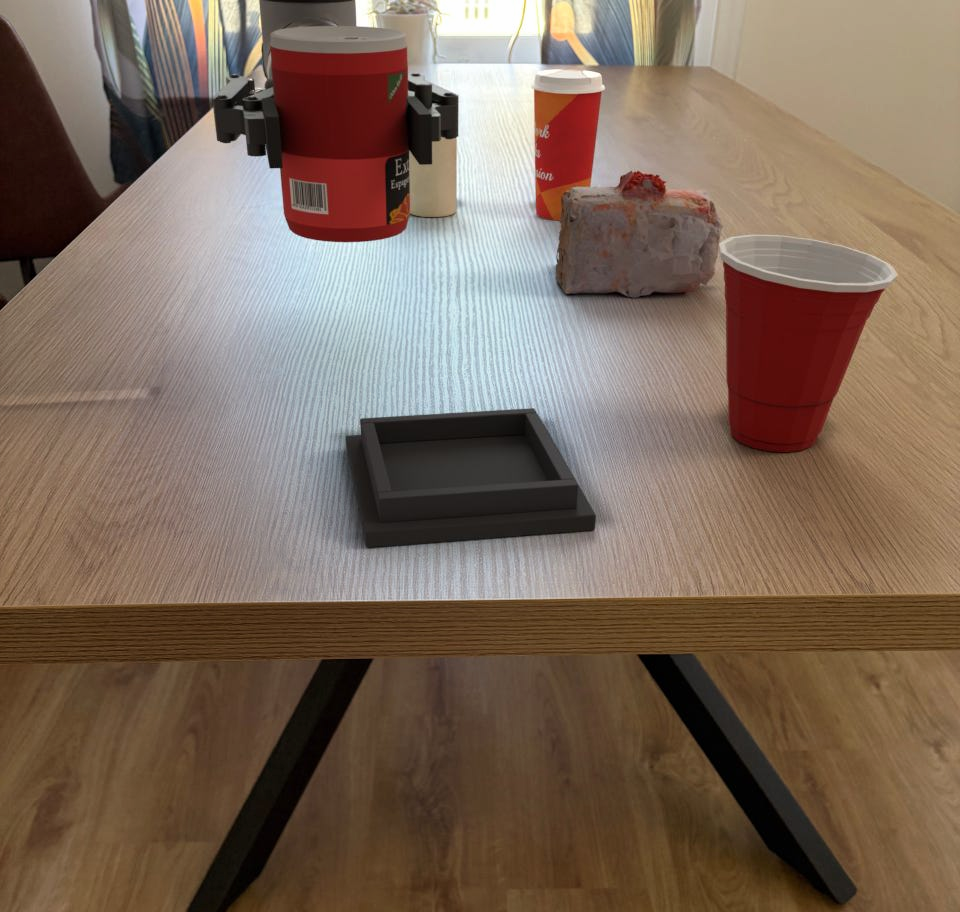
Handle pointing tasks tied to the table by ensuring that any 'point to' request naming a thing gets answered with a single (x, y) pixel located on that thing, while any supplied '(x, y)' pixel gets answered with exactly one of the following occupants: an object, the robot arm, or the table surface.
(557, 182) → the paper cup
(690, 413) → the table surface
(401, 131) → the canned food
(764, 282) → the plastic cup
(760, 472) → the table surface
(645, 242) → the food item
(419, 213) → the candle
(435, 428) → the base pad
